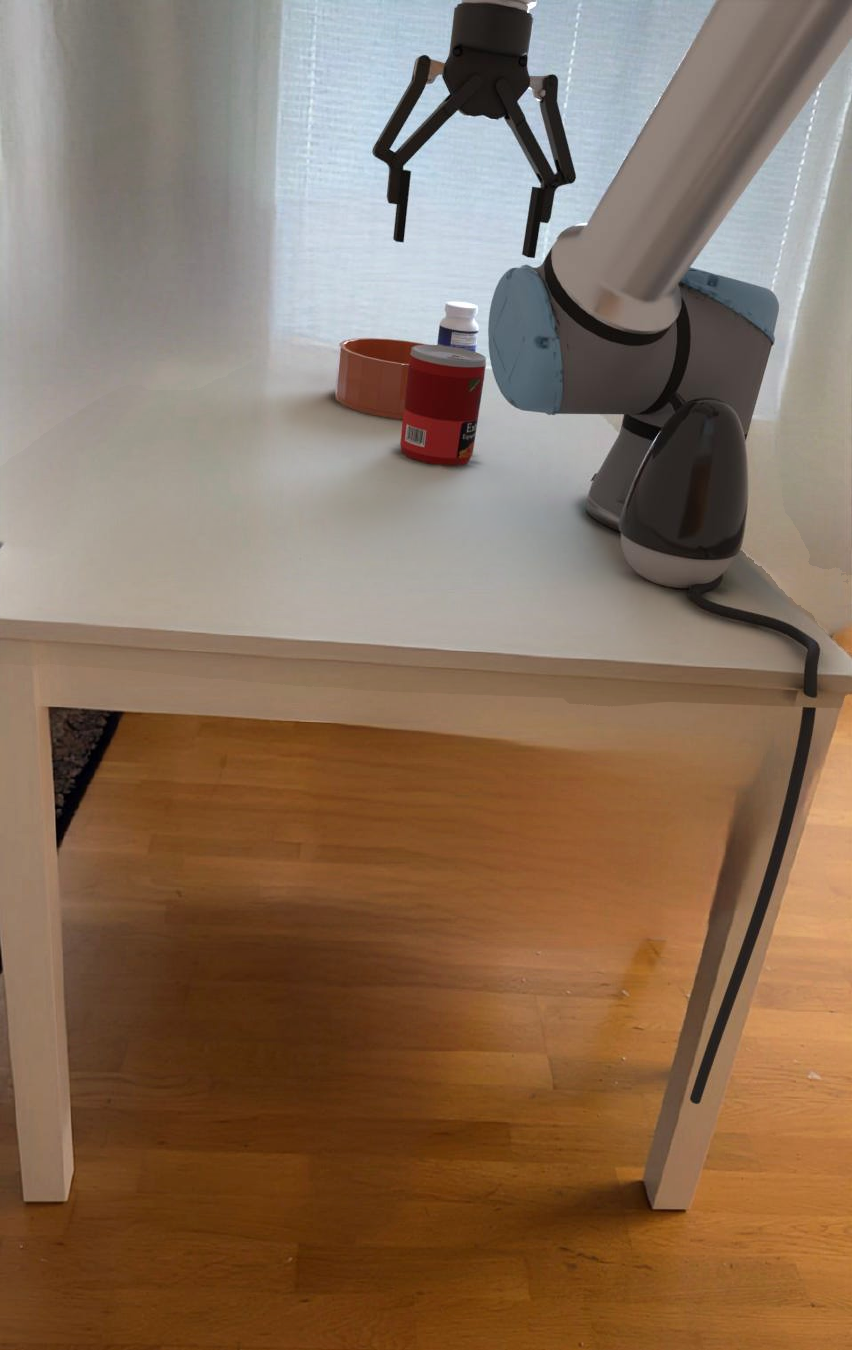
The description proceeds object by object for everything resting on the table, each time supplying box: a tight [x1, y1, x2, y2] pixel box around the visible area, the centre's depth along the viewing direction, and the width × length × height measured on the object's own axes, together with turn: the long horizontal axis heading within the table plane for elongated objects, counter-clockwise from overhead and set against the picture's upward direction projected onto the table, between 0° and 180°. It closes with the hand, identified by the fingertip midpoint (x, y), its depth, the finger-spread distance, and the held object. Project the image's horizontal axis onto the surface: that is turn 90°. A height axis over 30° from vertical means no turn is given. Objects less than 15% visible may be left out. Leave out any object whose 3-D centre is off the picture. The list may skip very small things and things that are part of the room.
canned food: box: [399, 344, 487, 466], centre depth 113 cm, size 8×8×11 cm
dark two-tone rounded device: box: [618, 393, 749, 589], centre depth 87 cm, size 10×10×15 cm
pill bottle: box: [436, 301, 479, 352], centre depth 155 cm, size 6×6×10 cm
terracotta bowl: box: [334, 337, 429, 421], centre depth 134 cm, size 16×16×6 cm
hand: (463, 249), depth 109 cm, fingers open, 13 cm apart
